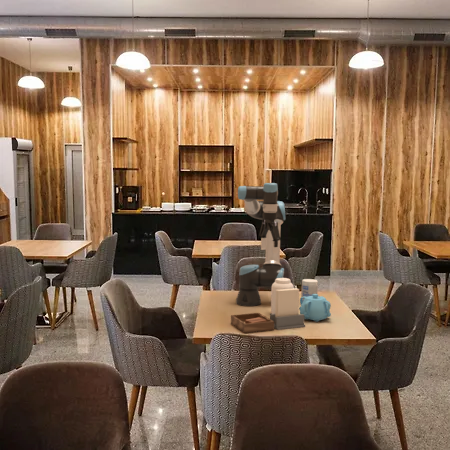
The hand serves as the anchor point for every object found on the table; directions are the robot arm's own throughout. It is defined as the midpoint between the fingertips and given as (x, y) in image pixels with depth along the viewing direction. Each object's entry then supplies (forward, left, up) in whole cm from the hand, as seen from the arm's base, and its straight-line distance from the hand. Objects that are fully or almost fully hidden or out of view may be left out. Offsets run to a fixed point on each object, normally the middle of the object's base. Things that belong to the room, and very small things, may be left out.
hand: (269, 251), depth 280 cm
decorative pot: (+9, +24, -37) cm, 45 cm away
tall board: (+16, +3, -36) cm, 39 cm away
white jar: (-6, +12, -37) cm, 39 cm away
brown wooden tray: (+12, -15, -37) cm, 41 cm away
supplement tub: (-20, +38, -37) cm, 57 cm away
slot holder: (+16, +3, -37) cm, 40 cm away
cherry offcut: (+15, -15, -34) cm, 40 cm away
